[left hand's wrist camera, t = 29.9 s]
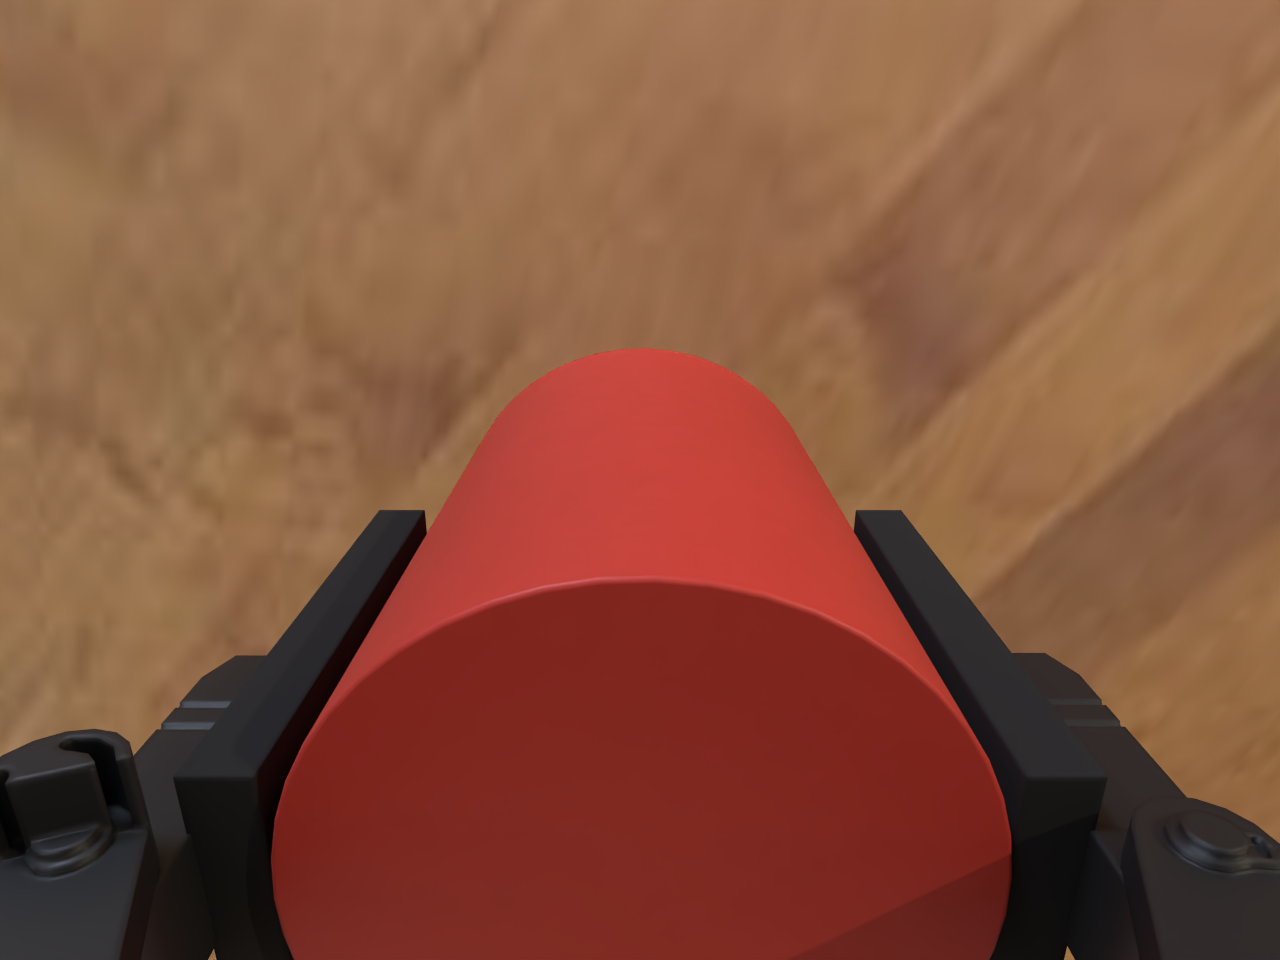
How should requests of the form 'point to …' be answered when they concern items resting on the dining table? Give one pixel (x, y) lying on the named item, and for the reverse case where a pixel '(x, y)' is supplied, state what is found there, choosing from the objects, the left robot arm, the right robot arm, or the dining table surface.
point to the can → (641, 712)
